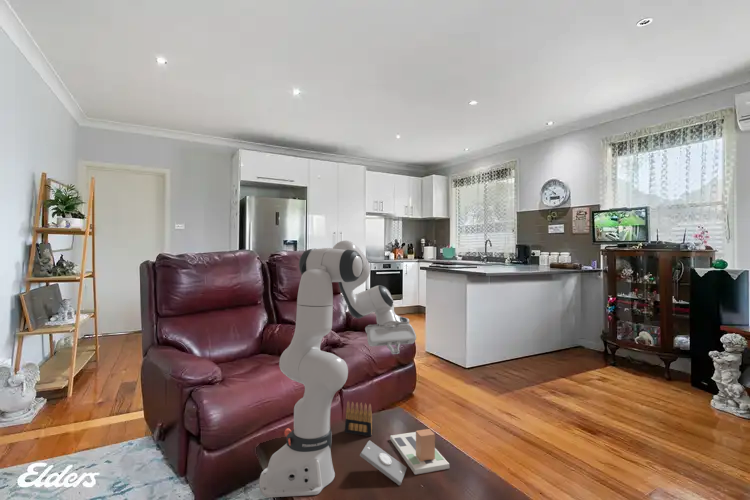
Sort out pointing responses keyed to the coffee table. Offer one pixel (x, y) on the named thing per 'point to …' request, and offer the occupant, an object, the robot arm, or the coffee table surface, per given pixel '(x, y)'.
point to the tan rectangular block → (425, 444)
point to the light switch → (383, 462)
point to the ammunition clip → (358, 420)
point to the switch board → (408, 452)
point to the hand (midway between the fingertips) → (395, 353)
